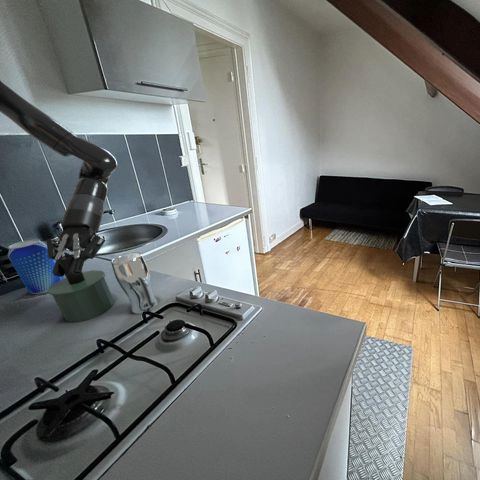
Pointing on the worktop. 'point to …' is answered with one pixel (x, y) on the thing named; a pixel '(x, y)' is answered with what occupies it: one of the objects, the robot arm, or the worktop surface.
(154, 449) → the worktop surface
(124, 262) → the beer glass
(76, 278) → the tin lid
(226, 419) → the worktop surface
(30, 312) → the worktop surface
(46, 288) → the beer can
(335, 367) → the worktop surface
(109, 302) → the tin
